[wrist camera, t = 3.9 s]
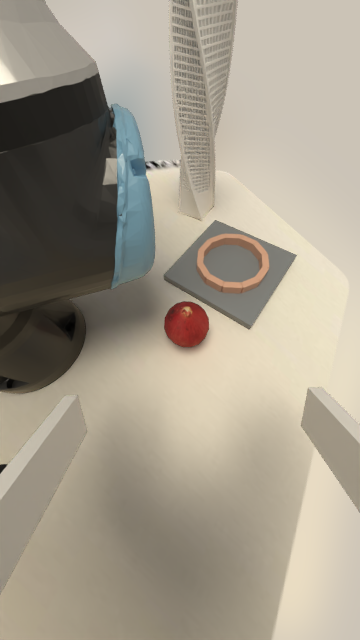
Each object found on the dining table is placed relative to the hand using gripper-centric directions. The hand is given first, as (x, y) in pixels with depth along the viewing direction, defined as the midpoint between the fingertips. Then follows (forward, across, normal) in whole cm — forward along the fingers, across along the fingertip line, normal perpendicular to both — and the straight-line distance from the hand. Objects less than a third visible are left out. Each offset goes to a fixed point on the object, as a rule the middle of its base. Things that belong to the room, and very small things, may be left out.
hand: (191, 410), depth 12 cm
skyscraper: (+38, +3, +17) cm, 42 cm away
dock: (+26, +8, +5) cm, 28 cm away
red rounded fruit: (+18, 0, -3) cm, 18 cm away
